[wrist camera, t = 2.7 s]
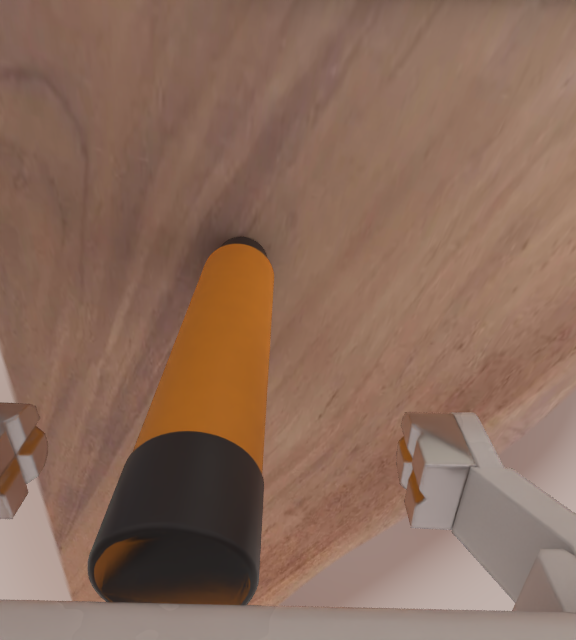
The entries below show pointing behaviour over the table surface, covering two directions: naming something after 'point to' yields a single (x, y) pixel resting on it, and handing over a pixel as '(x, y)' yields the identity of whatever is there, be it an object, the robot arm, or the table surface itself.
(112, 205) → the table surface
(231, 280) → the marker
